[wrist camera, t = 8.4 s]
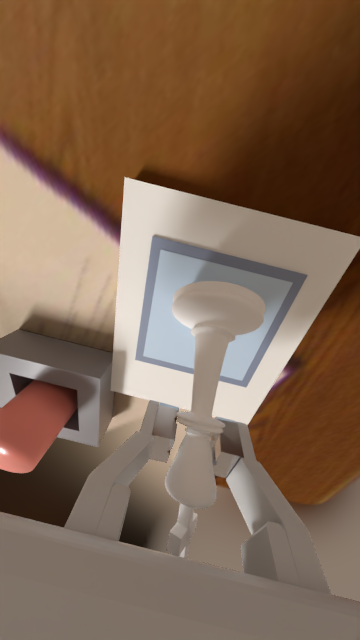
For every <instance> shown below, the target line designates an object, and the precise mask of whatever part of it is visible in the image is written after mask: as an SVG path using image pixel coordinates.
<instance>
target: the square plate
mask: <svg viewBox="0 0 360 640" xmlns="http://www.w3.org/2000/svg"><path fill="white" fill-rule="evenodd" d="M359 249H360V237H359V236H355V235H351V234H347V233H343V232H339V231H335V230H331V229H327V228H323V227H320V226H316V225H312V224H308V223H304V222H300V221H296V220H292V219H288V218H284V217H280V216H276V215H272V214H268V213H264V212H260V211H256V210H252V209H248V208H244V207H240V206H236V205H233V204H229V203H225V202H221V201H217V200H213V199H209V198H205V197H201V196H197V195H193V194H189V193H185V192H181V191H177V190H173V189H169V188H165V187H161V186H157V185H153V184H150V183H146V182H142V181H138V180H134V179H130V178H126V177H125V181H124V196H123V211H122V225H121V240H120V255H119V270H118V285H117V300H116V315H115V330H114V344H113V359H112V374H111V389H110V391H114V392H118V393H122V394H126V395H130V396H134V397H138V398H142V399H146V400H154V401H158V402H161V403H165V404H168V405H172V406H175V407H179V408H182V409H186V410H190V411H191V404H192V391H193V377H194V359H195V337H194V336H193V335H192V334H191V332H190V330H191V328H188V327H186V326H185V325H183V324H182V323H180V322H179V321H178V320H177V319H176V318H175V317H174V315H173V313H172V305H173V295H174V294H175V292H176V291H177V290H178V289H180V288H181V287H183V286H185V285H188V284H191V283H195V282H202V281H219V282H227V283H232V284H236V285H239V286H242V287H245V288H247V289H249V290H251V291H253V292H255V293H256V294H257V295H259V296H260V297H261V298H262V300H263V301H264V303H265V306H266V311H265V314H264V320H263V323H262V325H261V326H260V327H259V328H258V329H256V330H255V331H252V332H250V333H247V334H243V335H236V336H235V337H236V338H235V340H234V341H232V342H229V344H228V347H227V350H226V354H225V357H224V361H223V365H222V369H221V373H220V378H219V382H218V386H217V391H216V396H215V401H214V405H213V410H212V416H214V417H216V416H217V417H221V418H225V419H230V420H234V421H237V422H241V423H245V424H246V425H248V423H249V422H250V420H251V419H252V417H253V416H254V414H255V412H256V411H257V409H258V408H259V406H260V405H261V403H262V401H263V400H264V398H265V397H266V395H267V394H268V392H269V390H270V389H271V387H272V386H273V384H274V383H275V381H276V379H277V378H278V376H279V375H280V373H281V372H282V370H283V368H284V367H285V365H286V364H287V362H288V361H289V359H290V357H291V356H292V354H293V353H294V351H295V350H296V348H297V346H298V345H299V343H300V342H301V340H302V339H303V337H304V335H305V334H306V332H307V331H308V329H309V327H310V326H311V324H312V323H313V321H314V320H315V318H316V316H317V315H318V313H319V312H320V310H321V309H322V307H323V305H324V304H325V302H326V301H327V299H328V298H329V296H330V294H331V293H332V291H333V290H334V288H335V287H336V285H337V283H338V282H339V280H340V279H341V277H342V276H343V274H344V272H345V271H346V269H347V268H348V266H349V265H350V263H351V261H352V260H353V258H354V257H355V255H356V254H357V252H358V250H359Z"/></svg>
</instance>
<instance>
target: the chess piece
mask: <svg viewBox="0 0 360 640" xmlns="http://www.w3.org/2000/svg"><path fill="white" fill-rule="evenodd" d="M265 311H266V306H265V303H264V301H263V300H262V298H261V297H260V296H259V295H257V294H256V293H255V292H253V291H251V290H249V289H247V288H245V287H242V286H239V285H236V284H232V283H227V282H219V281H202V282H195V283H191V284H188V285H185V286H183V287H181V288H180V289H178V290H177V291H176V292H175V294H174V295H173V305H172V313H173V315H174V317H175V318H176V319H177V320H178V321H179V322H180V323H182V324H183V325H185V326H186V327H188V328H191V330H190V332H191V334H192V335H193V336H194V337H195V359H194V377H193V391H192V404H191V411H190V412H177V413H176V415H177V416H178V418H177V421H178V422H179V423H181V424H183V425H185V426H187V428H185V431H186V432H187V433H186V435H185V437H184V439H183V441H182V443H181V445H180V447H179V450H178V453H177V455H176V457H175V459H174V461H173V463H172V465H171V466H170V469H169V471H168V473H167V475H166V478H165V487H166V489H167V491H168V493H169V494H170V496H171V497H172V498H174V499H175V500H176V501H177V502H179V503H180V508H179V514H178V520H177V523H176V524H175V526H174V527H173V528H172V529H171V530H170V532H169V538H168V543H167V550H168V551H169V552H170V553H172V555H175V556H179V557H183V558H187V559H188V551H189V543H190V538H191V536H192V535H193V533H194V531H195V530H196V524H197V516H198V515H197V514H196V513H194V508H197V509H203V508H208V507H210V506H211V505H213V504H214V503H215V501H216V497H217V492H216V483H215V478H214V472H213V465H212V453H211V448H210V442H209V438H210V437H212V435H211V434H210V433H222V432H223V429H222V428H224V427H225V424H224V423H223V422H221V421H219V420H217V419H214V418H212V410H213V405H214V401H215V396H216V391H217V386H218V382H219V378H220V373H221V369H222V365H223V361H224V357H225V354H226V350H227V347H228V344H229V342H232V341H234V340H235V338H236V337H235V336H236V335H243V334H247V333H250V332H252V331H255V330H256V329H258V328H259V327H260V326H261V325H262V323H263V320H264V314H265Z"/></svg>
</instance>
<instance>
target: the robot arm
mask: <svg viewBox="0 0 360 640" xmlns="http://www.w3.org/2000/svg"><path fill="white" fill-rule="evenodd" d="M159 403H160V404H159ZM158 407H159V408H158ZM177 412H179V407H175V406H172V405H168V404H165V403H161V402H158V401H154V400H150V401H149V403H148V407H147V410H146V413H145V416H144V419H143V423H142V426H141V429H140V432H137V431H136V432H135V433H134V434H133V435H132V436H131V437H130V438H129V439H127V440H126V441H125V442H124V443H123V444H122V445H121V446H120V447H119V448H118V449H117V450H115V451H114V452H113V453H112V454H111V455H110V456H109V457H108V458H107V459H106V460H105V461H103V462H102V463H101V464H100V465H99V466H98V467H97V468H96V469H95V470H94V471H92V472H91V473H90V474H89V476H88V478H87V480H86V482H85V485H84V486H83V489H82V491H81V493H80V495H79V497H78V499H77V501H76V503H75V506H74V508H73V510H72V512H71V514H70V516H69V518H68V521H67V523H66V525H65V527H64V528H62V527H58V526H54V525H50V524H46V523H42V522H38V521H34V520H30V519H26V518H22V517H18V516H14V515H10V514H6V513H2V512H0V640H360V602H359V601H355V600H351V599H347V598H343V597H339V596H335V595H332V594H331V592H330V589H329V586H328V584H327V581H326V578H325V576H324V572H323V570H322V567H321V564H320V562H319V559H318V556H317V553H316V550H315V548H314V545H313V542H312V539H311V537H310V534H309V531H308V529H307V528H306V526H305V525H304V524H303V522H302V521H301V519H300V518H299V517H298V515H297V514H296V513H295V511H294V510H293V508H292V507H291V505H290V504H289V503H288V501H287V500H286V498H285V497H284V496H283V494H282V493H281V492H280V490H279V489H278V487H277V486H276V485H275V483H274V482H273V480H272V479H271V478H270V476H269V475H268V473H267V472H266V471H265V469H264V468H263V466H262V465H261V464H260V462H257V461H256V458H255V454H254V450H253V446H252V442H251V438H250V434H249V430H248V426H247V425H246V424H245V423H241V422H237V421H234V420H230V419H225V418H221V417H217V416H216V417H215V419H217V420H219V421H221V422H223V423H224V424H225V427H224V428H222V429H223V432H222V433H210V434H211V435H212V437H210V438H209V442H210V448H211V453H212V465H213V472H214V475H216V476H220V477H223V478H227V479H226V481H227V483H228V485H229V487H230V489H231V491H232V494H233V495H234V498H235V500H236V502H237V504H238V506H239V509H240V511H241V513H242V515H243V517H244V519H245V522H246V524H247V526H248V528H249V530H250V532H251V534H252V536H251V537H250V538H248V539H247V540H246V541H245V542H244V543H243V544H242V545H241V553H242V561H243V569H244V573H243V572H239V571H235V570H231V569H227V568H223V567H219V566H215V565H211V564H207V563H203V562H198V561H195V560H191V559H187V558H183V557H179V556H175V555H171V554H167V553H163V552H158V551H155V550H151V549H146V548H143V547H139V546H135V545H131V544H127V543H123V542H119V537H120V533H121V529H122V526H123V522H124V518H125V514H126V509H127V505H128V500H129V495H130V489H129V487H128V485H129V484H130V483H131V481H132V480H133V479H134V478H135V477H136V475H137V474H138V473H139V472H140V470H141V469H142V468H143V466H144V465H145V464H146V463H147V462H148V460H149V459H152V460H156V461H161V462H165V463H167V460H168V458H169V455H170V450H171V449H172V447H173V444H174V441H175V434H176V428H177V424H176V420H177V417H178V416H177V415H176V413H177Z"/></svg>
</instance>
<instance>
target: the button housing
mask: <svg viewBox="0 0 360 640" xmlns="http://www.w3.org/2000/svg"><path fill="white" fill-rule="evenodd" d="M112 359H113V353H111V352H107V351H103V350H99V349H95V348H91V347H87V346H83V345H79V344H75V343H71V342H67V341H63V340H59V339H55V338H51V337H47V336H43V335H39V334H35V333H31V332H27V331H23V330H19V329H18V330H16V331H14V332H12V333H10V334H8V335H6V336H4V337H2V338H0V407H1V408H2V407H3V406H4V405H6V404H7V403H8V402H9V401H10V400H11V399H13V398H14V397H15V396H16V395H17V394H18V393H19V392H21V391H22V390H23V389H24V388H25V387H26V386H28V385H29V384H30V383H31V382H32V381H33V380H34V379H35V380H39V381H43V382H47V383H51V384H55V385H59V386H63V387H67V388H71V389H75V390H77V398H78V408H77V409H76V410H75V412H74V413H73V415H72V416H71V417H70V419H69V420H68V422H67V423H66V424H65V426H64V427H63V429H62V430H61V431H60V433H59V434H58V436H57V437H60V438H64V439H68V440H72V441H76V442H80V443H84V444H88V445H92V446H96V447H98V446H99V444H100V442H101V440H102V438H103V436H104V434H105V432H106V430H107V428H108V426H109V424H110V422H111V420H112V415H113V402H114V391H110V389H111V374H112Z"/></svg>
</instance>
